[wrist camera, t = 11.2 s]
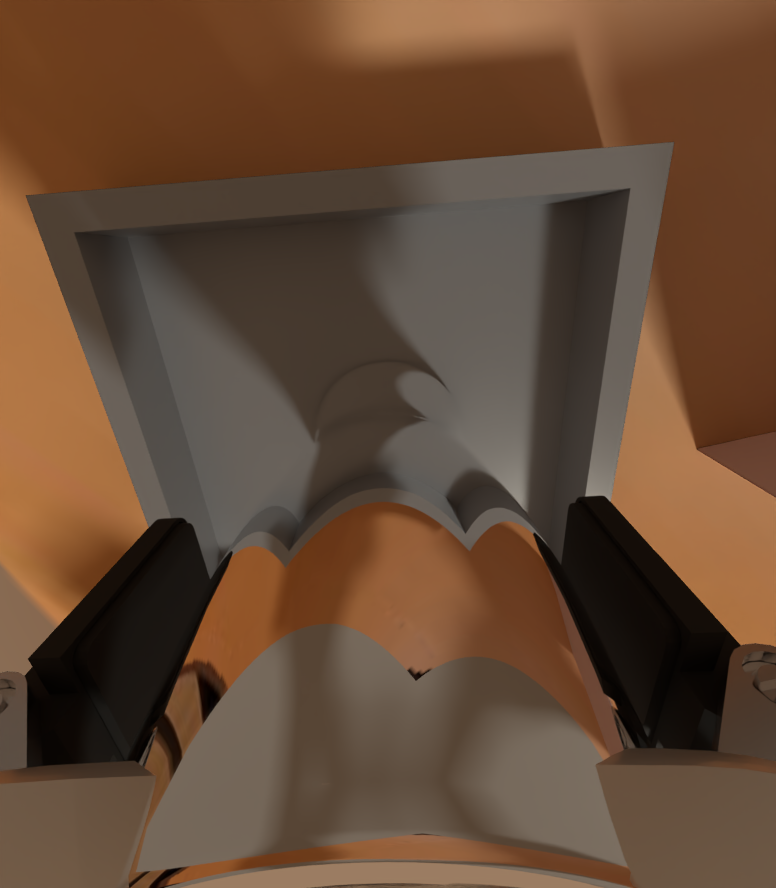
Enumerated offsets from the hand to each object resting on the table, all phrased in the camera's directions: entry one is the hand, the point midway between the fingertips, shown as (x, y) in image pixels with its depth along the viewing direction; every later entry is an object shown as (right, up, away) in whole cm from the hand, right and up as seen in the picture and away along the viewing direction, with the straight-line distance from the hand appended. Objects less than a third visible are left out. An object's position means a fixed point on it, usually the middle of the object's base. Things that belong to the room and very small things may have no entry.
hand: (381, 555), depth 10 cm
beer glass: (0, +3, +7) cm, 8 cm away
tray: (0, +4, +8) cm, 9 cm away
